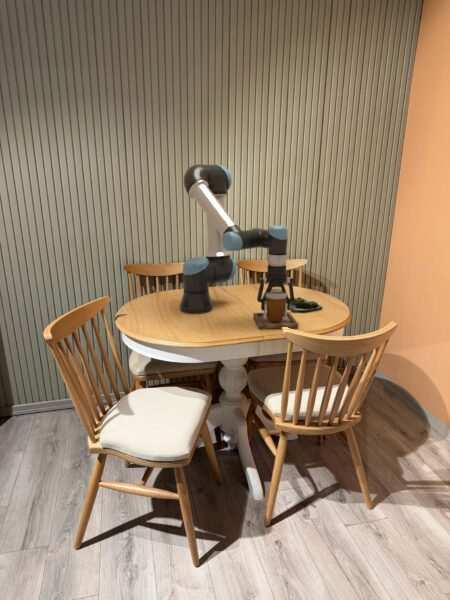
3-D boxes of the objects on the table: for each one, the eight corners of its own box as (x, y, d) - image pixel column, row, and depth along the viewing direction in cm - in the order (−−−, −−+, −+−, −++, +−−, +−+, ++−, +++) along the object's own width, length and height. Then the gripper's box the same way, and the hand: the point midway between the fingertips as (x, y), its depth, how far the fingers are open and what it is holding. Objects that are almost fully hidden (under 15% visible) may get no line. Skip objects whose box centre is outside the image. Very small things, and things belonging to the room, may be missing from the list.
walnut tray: (259, 329, 168) (259, 325, 167) (253, 317, 183) (253, 312, 183) (298, 328, 169) (298, 324, 168) (289, 316, 184) (289, 312, 184)
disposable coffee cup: (287, 322, 171) (289, 294, 168) (264, 322, 171) (265, 294, 168) (284, 315, 180) (286, 288, 177) (262, 315, 180) (263, 288, 177)
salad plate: (271, 304, 203) (272, 295, 202) (300, 299, 211) (301, 290, 210) (297, 315, 187) (297, 305, 185) (327, 309, 195) (327, 300, 194)
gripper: (252, 266, 165) (251, 320, 171) (304, 265, 166) (301, 319, 173) (250, 262, 172) (249, 315, 178) (299, 262, 173) (297, 314, 180)
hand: (275, 317), depth 175 cm, fingers closed on disposable coffee cup, 8 cm apart
